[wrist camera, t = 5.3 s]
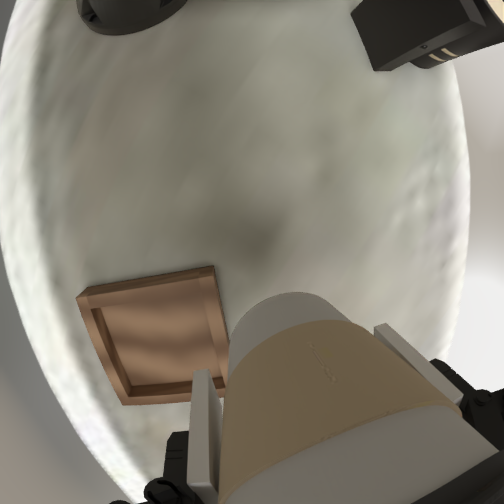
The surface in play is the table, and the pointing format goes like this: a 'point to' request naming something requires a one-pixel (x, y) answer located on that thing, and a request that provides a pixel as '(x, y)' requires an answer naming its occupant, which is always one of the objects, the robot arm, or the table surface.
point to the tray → (158, 334)
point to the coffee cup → (340, 418)
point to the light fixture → (426, 30)
